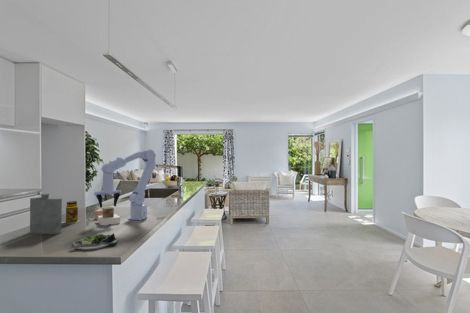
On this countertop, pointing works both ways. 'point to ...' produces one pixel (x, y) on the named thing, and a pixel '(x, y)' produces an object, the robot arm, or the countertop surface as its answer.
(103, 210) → the walnut cube
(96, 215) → the terracotta block
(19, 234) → the countertop surface
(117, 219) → the base block
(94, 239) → the salad plate
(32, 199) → the hip flask
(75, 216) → the condiment
